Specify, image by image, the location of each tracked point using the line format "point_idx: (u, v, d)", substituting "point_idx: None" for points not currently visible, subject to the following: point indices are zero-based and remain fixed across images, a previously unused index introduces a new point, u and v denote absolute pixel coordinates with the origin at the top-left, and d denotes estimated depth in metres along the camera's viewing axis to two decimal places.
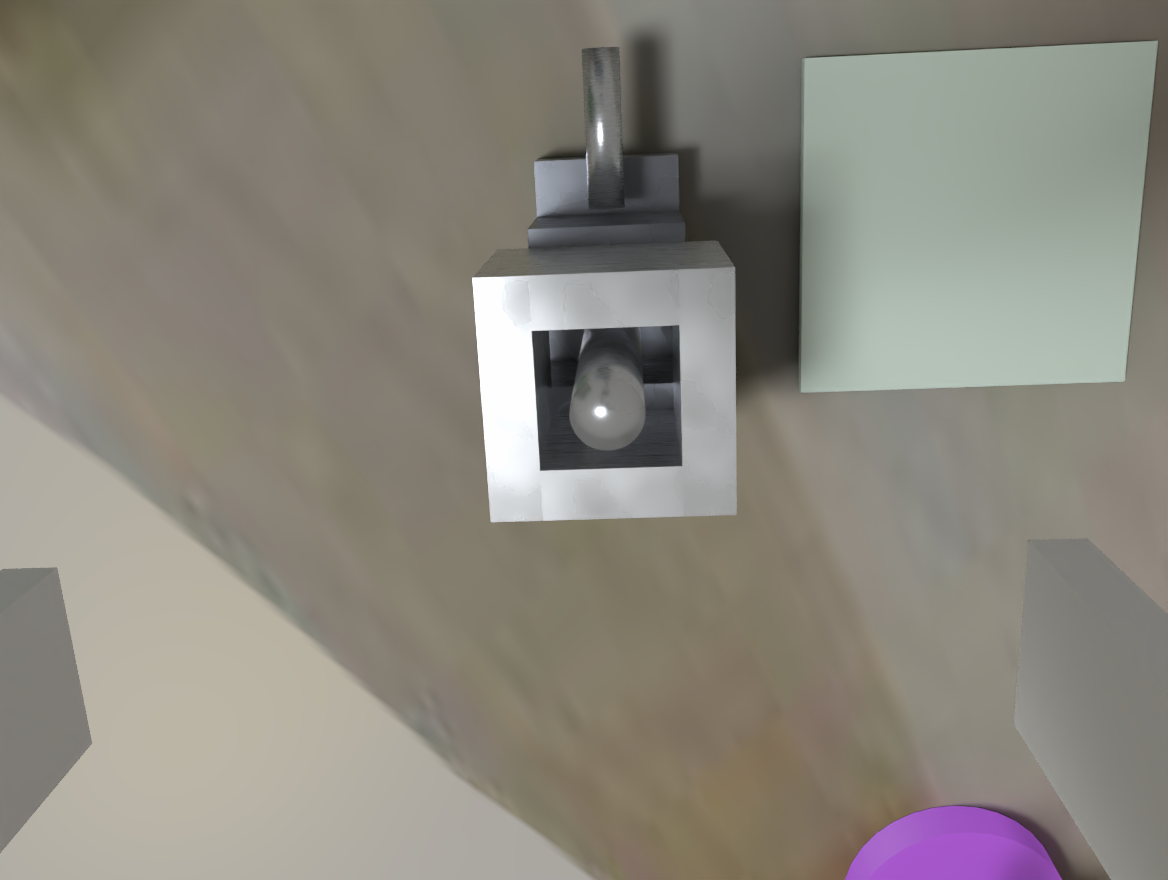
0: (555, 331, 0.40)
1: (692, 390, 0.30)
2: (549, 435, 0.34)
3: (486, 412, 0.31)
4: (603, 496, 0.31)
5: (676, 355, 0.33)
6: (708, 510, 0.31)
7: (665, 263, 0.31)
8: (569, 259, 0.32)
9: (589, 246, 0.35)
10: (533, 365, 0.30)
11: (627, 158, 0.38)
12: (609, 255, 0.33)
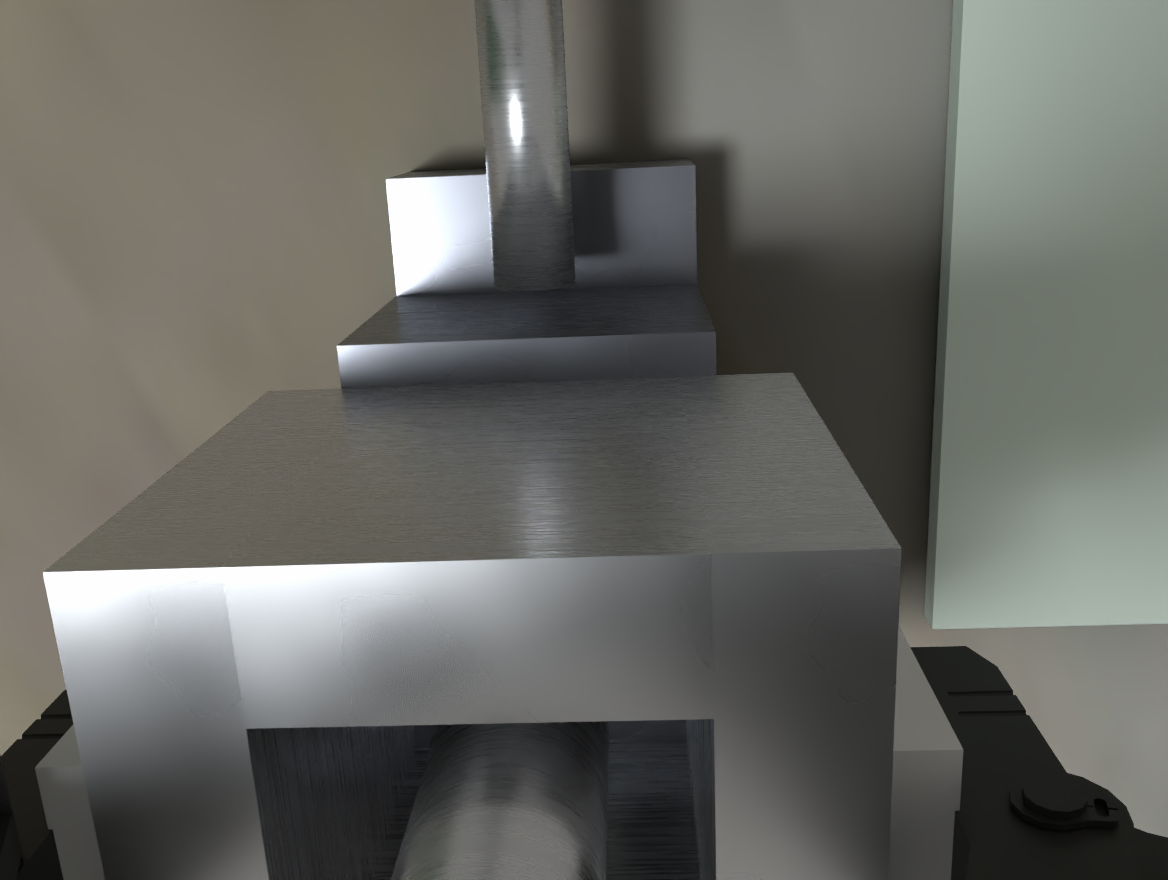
0: None
1: None
2: (381, 859, 0.14)
3: None
4: None
5: None
6: None
7: (669, 500, 0.10)
8: (405, 455, 0.12)
9: (484, 386, 0.15)
10: (262, 821, 0.10)
11: (585, 172, 0.18)
12: (518, 436, 0.12)
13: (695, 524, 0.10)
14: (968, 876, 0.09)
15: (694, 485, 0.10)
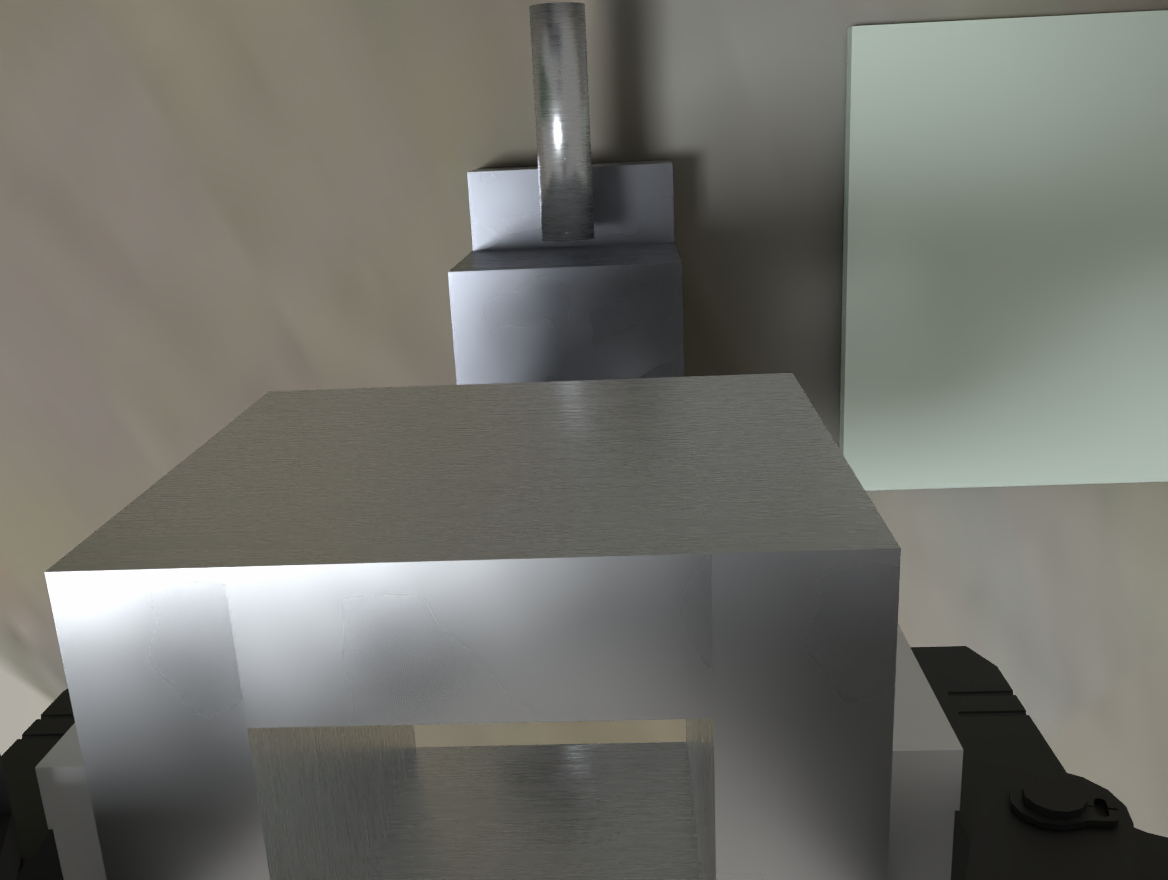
0: None
1: None
2: (382, 858, 0.14)
3: None
4: None
5: None
6: None
7: (669, 501, 0.10)
8: (405, 455, 0.12)
9: (485, 386, 0.15)
10: (263, 820, 0.10)
11: (600, 168, 0.27)
12: (519, 437, 0.12)
13: (695, 524, 0.10)
14: (968, 876, 0.09)
15: (694, 485, 0.10)
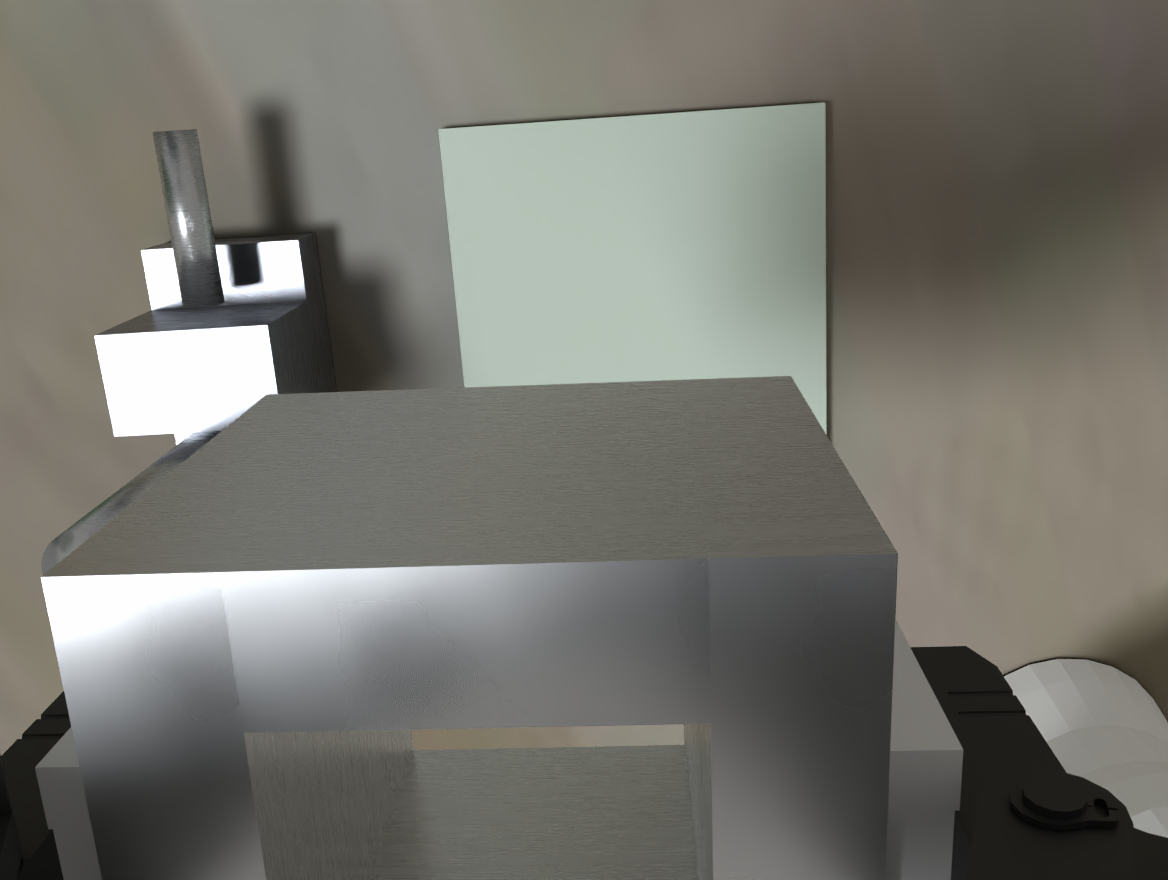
0: (186, 432, 0.36)
1: None
2: (379, 862, 0.14)
3: None
4: None
5: None
6: None
7: (666, 505, 0.10)
8: (403, 459, 0.12)
9: (483, 390, 0.15)
10: (259, 825, 0.10)
11: (242, 245, 0.35)
12: (516, 440, 0.12)
13: (692, 529, 0.10)
14: (968, 876, 0.09)
15: (691, 490, 0.10)
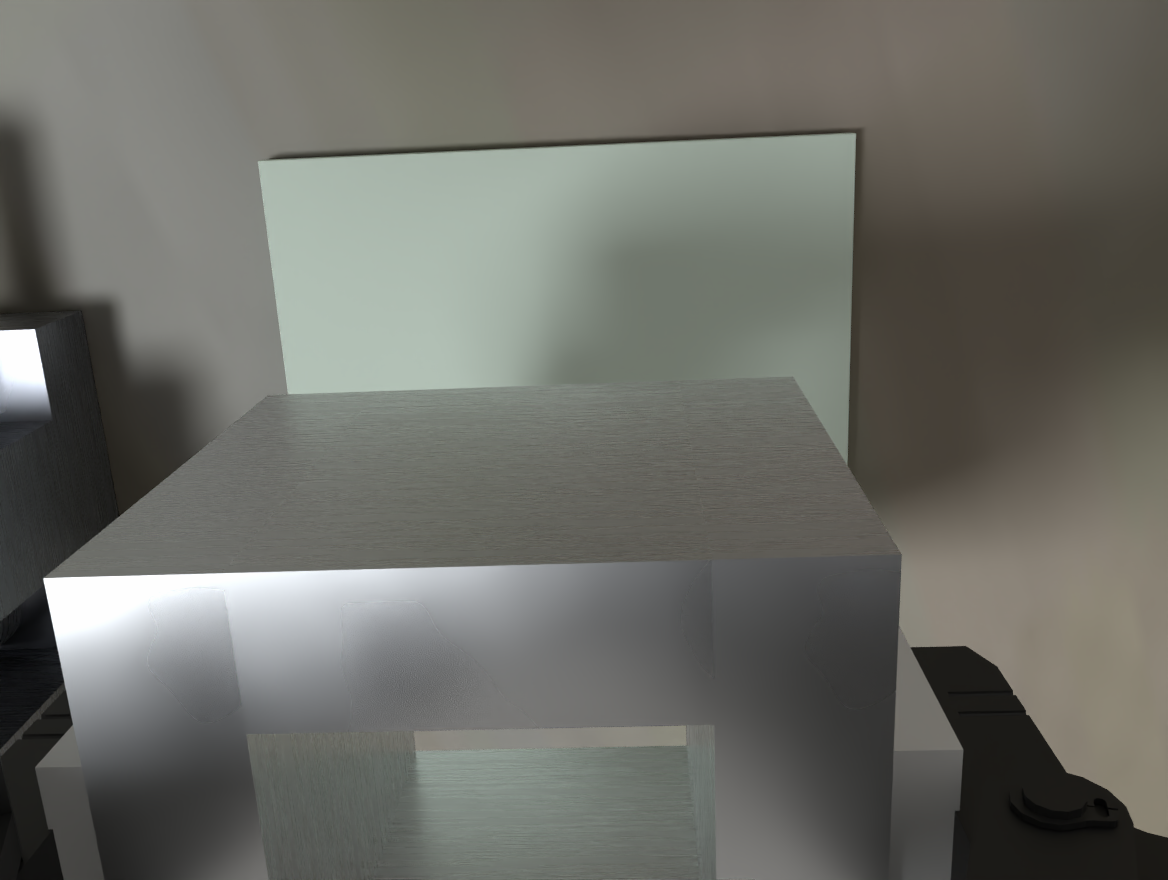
0: None
1: None
2: (381, 863, 0.14)
3: None
4: None
5: None
6: None
7: (669, 506, 0.10)
8: (405, 460, 0.12)
9: (485, 390, 0.15)
10: (262, 826, 0.10)
11: None
12: (518, 441, 0.12)
13: (695, 530, 0.10)
14: (967, 876, 0.09)
15: (694, 490, 0.10)
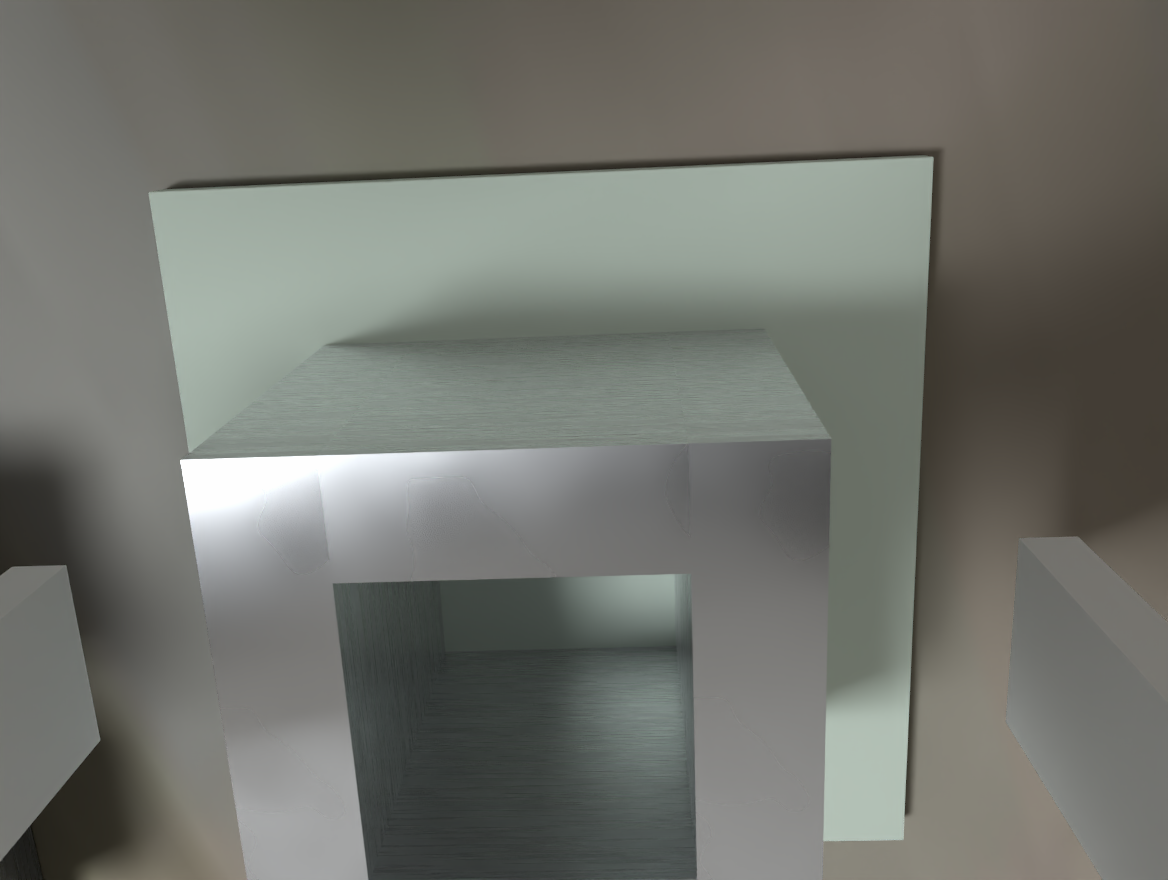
0: None
1: (721, 719, 0.13)
2: (421, 730, 0.17)
3: (236, 761, 0.13)
4: None
5: (682, 591, 0.15)
6: None
7: (657, 412, 0.13)
8: (446, 386, 0.15)
9: (506, 340, 0.17)
10: (342, 659, 0.13)
11: None
12: (537, 373, 0.15)
13: (677, 426, 0.12)
14: None
15: (677, 403, 0.13)
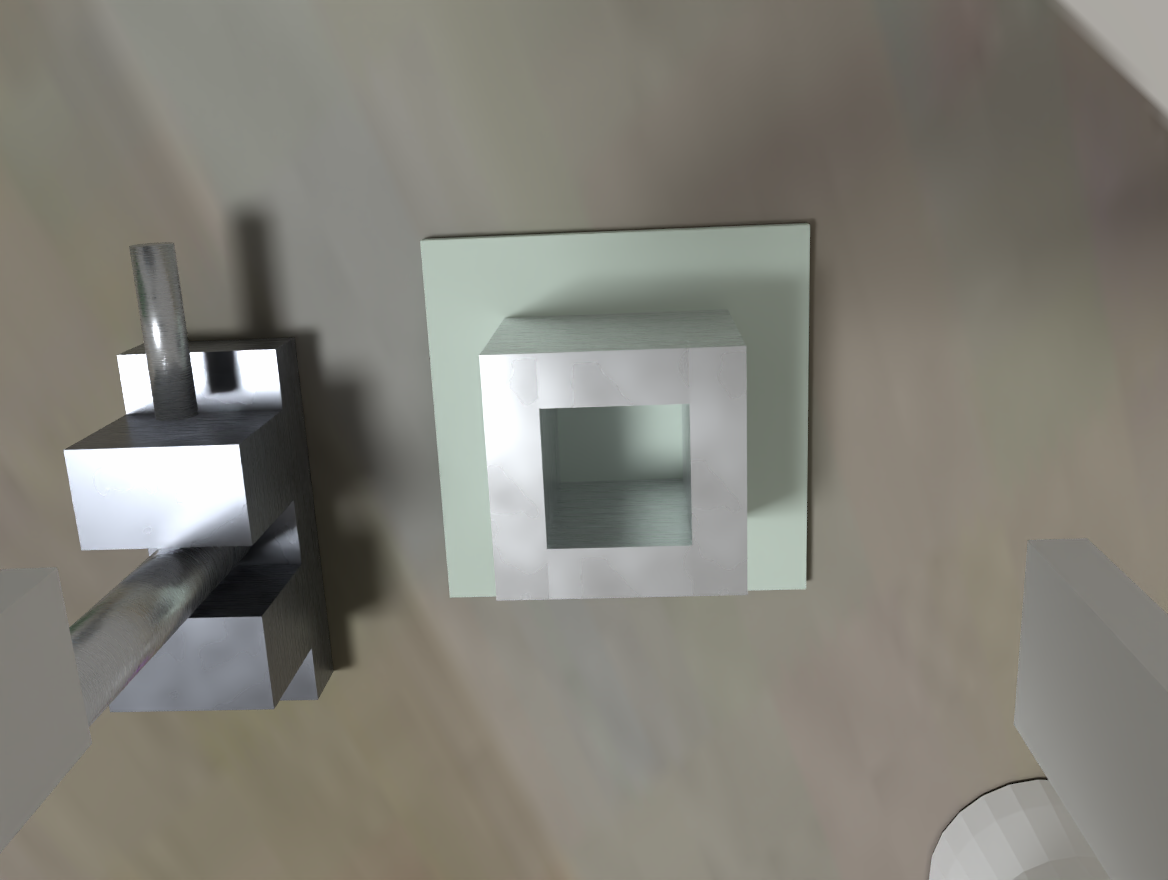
0: None
1: (702, 469, 0.30)
2: (556, 507, 0.34)
3: (492, 490, 0.30)
4: (611, 575, 0.31)
5: (686, 429, 0.32)
6: (718, 590, 0.31)
7: (675, 339, 0.30)
8: (577, 332, 0.32)
9: (597, 315, 0.35)
10: (540, 443, 0.30)
11: (219, 352, 0.34)
12: (618, 327, 0.32)
13: (683, 343, 0.29)
14: None
15: (684, 336, 0.30)
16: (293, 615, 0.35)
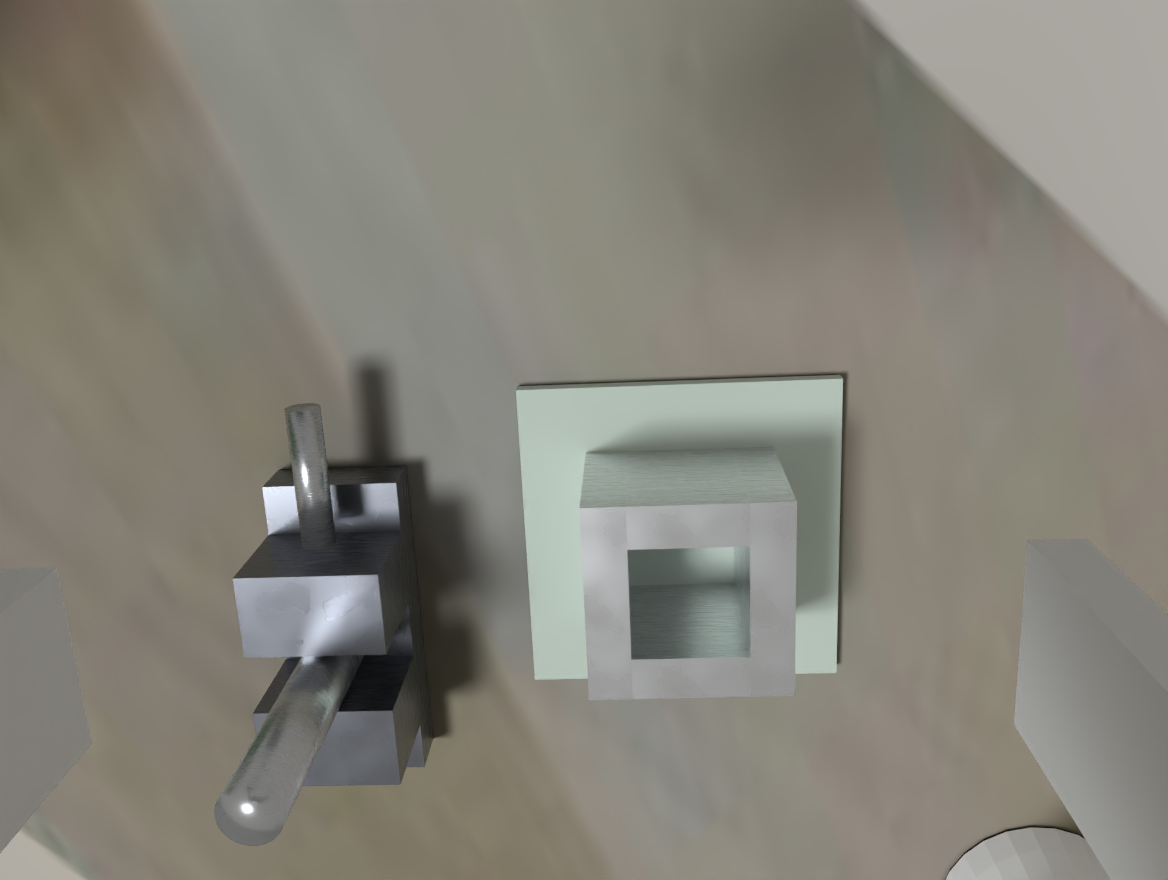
0: None
1: (759, 597, 0.37)
2: (631, 614, 0.41)
3: (587, 613, 0.37)
4: (684, 680, 0.38)
5: (742, 555, 0.39)
6: (771, 692, 0.38)
7: (736, 490, 0.37)
8: (653, 477, 0.39)
9: (664, 451, 0.41)
10: (627, 576, 0.37)
11: (348, 485, 0.41)
12: (685, 470, 0.39)
13: (745, 496, 0.36)
14: None
15: (743, 486, 0.37)
16: (409, 701, 0.42)
